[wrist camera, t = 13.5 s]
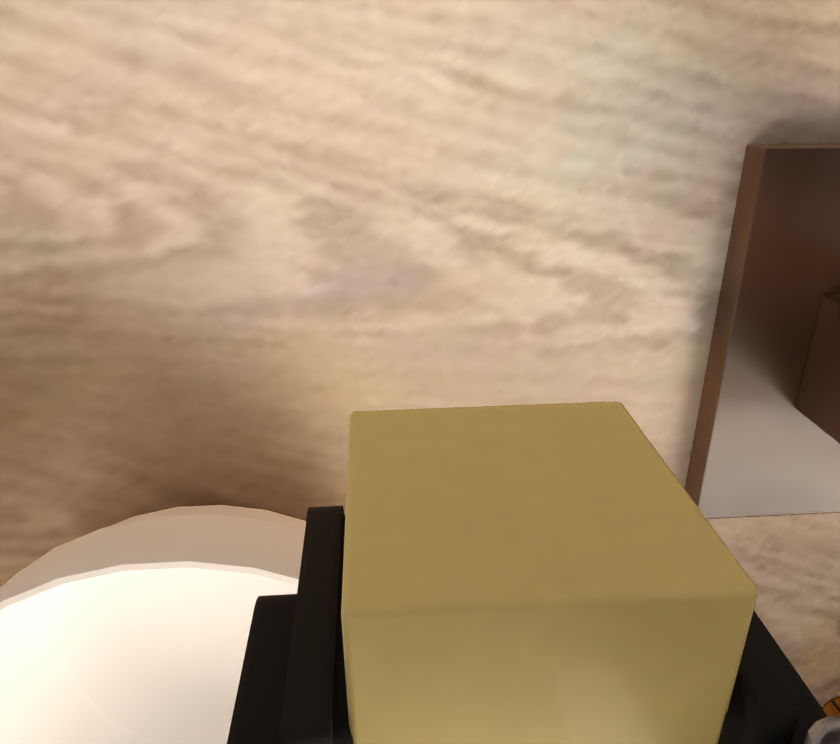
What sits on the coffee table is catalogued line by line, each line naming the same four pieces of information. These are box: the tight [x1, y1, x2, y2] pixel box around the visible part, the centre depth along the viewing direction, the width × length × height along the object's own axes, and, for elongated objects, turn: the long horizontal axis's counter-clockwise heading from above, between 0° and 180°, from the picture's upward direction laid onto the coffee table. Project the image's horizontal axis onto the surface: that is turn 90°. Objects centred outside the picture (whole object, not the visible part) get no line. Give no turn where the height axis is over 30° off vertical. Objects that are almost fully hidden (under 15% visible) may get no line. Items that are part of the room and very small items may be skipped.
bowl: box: [0, 505, 306, 744], centre depth 26 cm, size 18×18×7 cm
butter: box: [341, 401, 757, 744], centre depth 9 cm, size 6×4×4 cm, turn 0°
